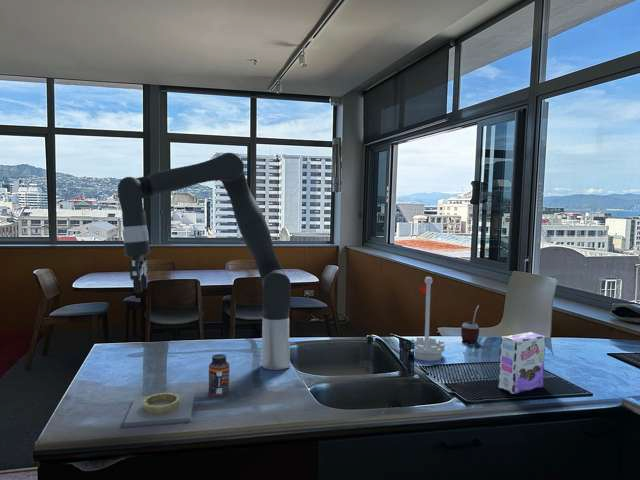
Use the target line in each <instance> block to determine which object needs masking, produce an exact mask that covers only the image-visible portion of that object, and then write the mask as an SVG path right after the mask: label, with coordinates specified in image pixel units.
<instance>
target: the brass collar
mask: <svg viewBox="0 0 640 480" xmlns="http://www.w3.org/2000/svg"><path fill="white" fill-rule="evenodd" d="M177 394H178V393H177ZM177 394H176V393H172V392H160V393H154V394H151V395H148V396H149V397H147V398H145V399H144V401H143V411H144V412H145V413H147V414H152V415H159V414H166V413H170V412H173V411H175V410H176V409H178V408H179V405H180V396H178V395H177ZM159 401H171V402H172V403H170V404H167V405H162V406H153V405H150V404H152V403H155V402H159Z"/></svg>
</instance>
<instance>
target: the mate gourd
mask: <svg viewBox="0 0 640 480" xmlns="http://www.w3.org/2000/svg"><path fill="white" fill-rule="evenodd" d="M479 307H480V305H479V304H478V305H477V307H476V309H475V310H474V315H473V319H472V321H465V322H463V324H462V325H461V328H460V331H461V333H460V334H461V339H462V340H461V342H462V343H466V344H467V343H468V344H469V345H472V344H478V339H479V335H480V328H479V325H478V324H477V322H475V321H476V320H475V319H476V316H477V311H478V309H479Z"/></svg>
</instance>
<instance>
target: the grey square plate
mask: <svg viewBox="0 0 640 480" xmlns="http://www.w3.org/2000/svg"><path fill="white" fill-rule="evenodd" d="M177 395H178V396H180V405H179V408H178V409H176V410H175V411H173V412H170V413H166V414H159V415H152V414H147V413H145V412H144V411H143V401H144V399H145V398H147V397H149V396H150V395H147V396H146V395H145V396H135V397H134V399H133V401H132V403H131V405H130V408H129V411H128V413H127V414H126V417H125V419H124V421H123V427H124V428H126V427H127V428H128V427H139V426H151V425H152V426H154V425H165V424H177V423H190V422H191V421H192V413H193V406H194V401H195V399H194V398H195V393H194V392H193V393H190V392H189V393H177ZM170 403H172V402H171V401H159V402H155V403H152V404H150V405H153V406H162V405H167V404H170Z"/></svg>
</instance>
